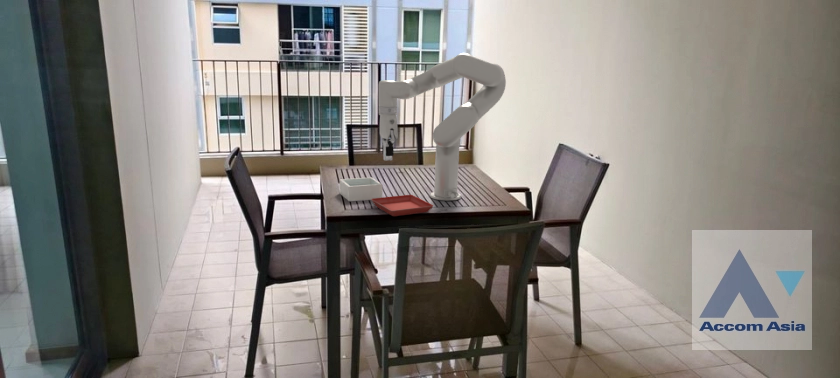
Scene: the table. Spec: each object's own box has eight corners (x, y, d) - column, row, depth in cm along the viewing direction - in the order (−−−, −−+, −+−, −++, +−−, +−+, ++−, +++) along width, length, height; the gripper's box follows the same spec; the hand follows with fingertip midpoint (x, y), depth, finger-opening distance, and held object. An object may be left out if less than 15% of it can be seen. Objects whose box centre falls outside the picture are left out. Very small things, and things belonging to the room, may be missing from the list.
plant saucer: (434, 213, 215) (434, 204, 214) (391, 219, 206) (391, 210, 205) (411, 202, 230) (411, 194, 229) (370, 207, 221) (370, 198, 220)
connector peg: (393, 160, 238) (393, 141, 236) (385, 160, 236) (385, 141, 235) (390, 158, 241) (390, 139, 239) (382, 159, 240) (382, 140, 238)
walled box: (382, 198, 232) (382, 184, 231) (348, 201, 227) (348, 186, 226) (371, 191, 245) (371, 177, 243) (339, 193, 239) (339, 179, 238)
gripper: (403, 112, 228) (403, 157, 232) (389, 108, 243) (389, 151, 247) (385, 113, 225) (385, 159, 229) (372, 109, 240) (373, 152, 244)
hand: (387, 154), depth 238 cm, fingers closed on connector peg, 3 cm apart
